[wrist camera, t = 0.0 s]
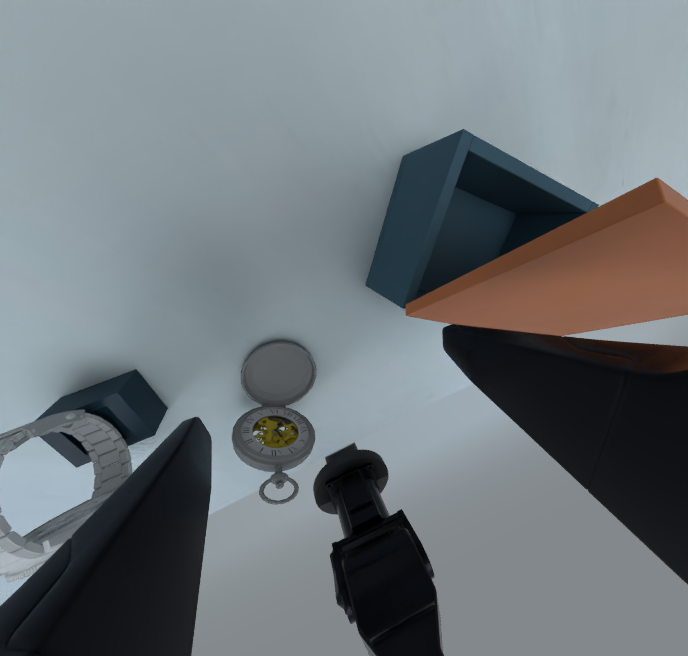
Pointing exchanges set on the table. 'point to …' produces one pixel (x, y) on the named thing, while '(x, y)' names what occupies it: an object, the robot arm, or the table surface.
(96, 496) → the watch
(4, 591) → the table surface
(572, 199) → the storage box
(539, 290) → the box lid
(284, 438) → the pocket watch
